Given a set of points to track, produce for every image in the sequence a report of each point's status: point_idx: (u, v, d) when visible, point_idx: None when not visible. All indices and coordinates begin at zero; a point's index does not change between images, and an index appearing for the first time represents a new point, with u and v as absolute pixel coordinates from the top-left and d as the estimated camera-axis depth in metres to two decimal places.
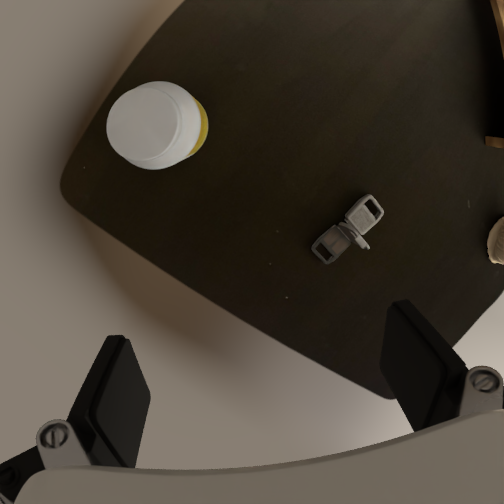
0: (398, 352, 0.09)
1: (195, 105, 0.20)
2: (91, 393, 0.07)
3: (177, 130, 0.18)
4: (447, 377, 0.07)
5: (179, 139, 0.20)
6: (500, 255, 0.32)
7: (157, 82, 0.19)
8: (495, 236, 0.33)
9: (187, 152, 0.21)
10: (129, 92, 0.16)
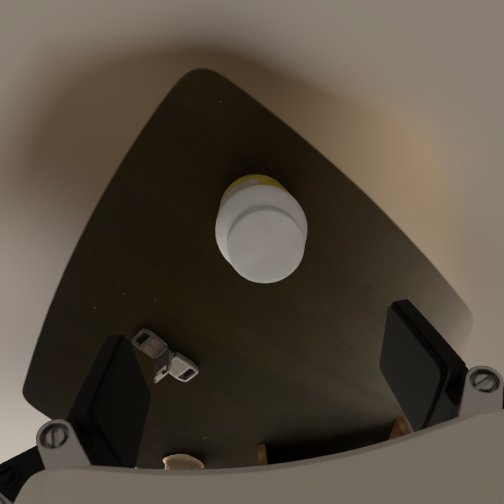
0: (398, 352, 0.09)
1: None
2: (91, 393, 0.07)
3: (255, 281, 0.20)
4: (447, 377, 0.07)
5: None
6: (171, 468, 0.40)
7: (305, 237, 0.22)
8: (185, 459, 0.42)
9: (231, 264, 0.23)
10: (301, 236, 0.19)
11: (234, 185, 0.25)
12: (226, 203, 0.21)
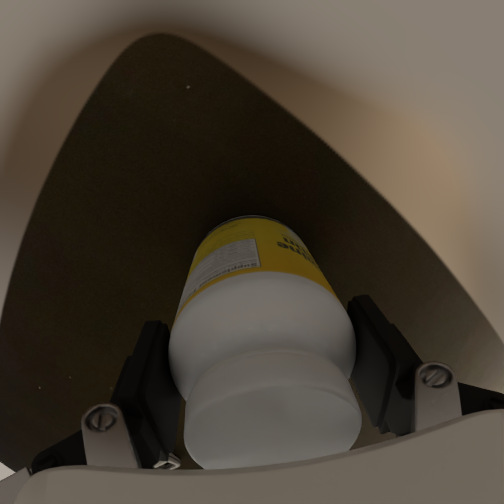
0: (357, 346, 0.10)
1: None
2: (138, 375, 0.08)
3: None
4: (396, 371, 0.07)
5: None
6: None
7: (351, 370, 0.10)
8: None
9: None
10: (357, 419, 0.07)
11: (210, 247, 0.13)
12: (184, 316, 0.09)
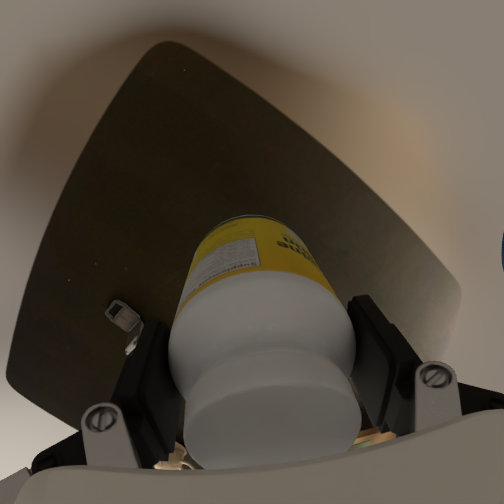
0: (357, 346, 0.10)
1: None
2: (138, 375, 0.08)
3: None
4: (396, 370, 0.07)
5: None
6: None
7: (351, 369, 0.10)
8: None
9: None
10: (357, 419, 0.07)
11: (210, 247, 0.13)
12: (184, 315, 0.09)
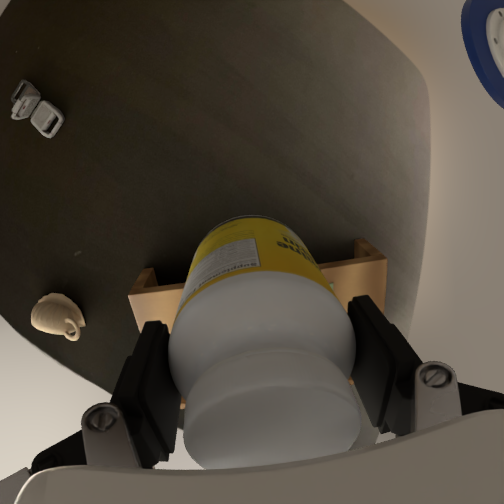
0: (357, 346, 0.10)
1: None
2: (138, 375, 0.08)
3: None
4: (396, 371, 0.07)
5: None
6: (37, 306, 0.30)
7: (351, 370, 0.10)
8: (58, 301, 0.33)
9: None
10: (357, 419, 0.07)
11: (210, 247, 0.13)
12: (184, 315, 0.09)
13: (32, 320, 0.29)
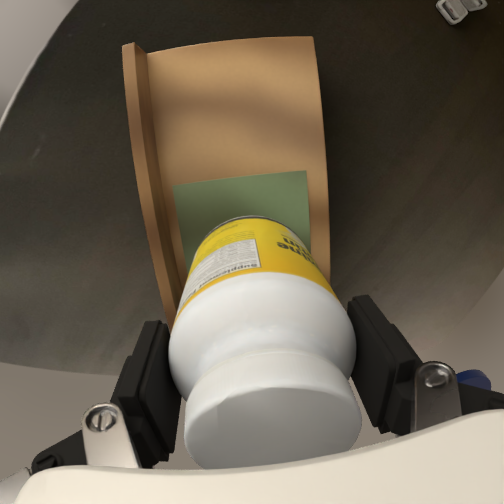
0: (357, 346, 0.10)
1: None
2: (138, 375, 0.08)
3: None
4: (396, 371, 0.07)
5: None
6: None
7: (352, 370, 0.10)
8: None
9: None
10: (357, 420, 0.07)
11: (210, 248, 0.13)
12: (185, 316, 0.09)
13: None
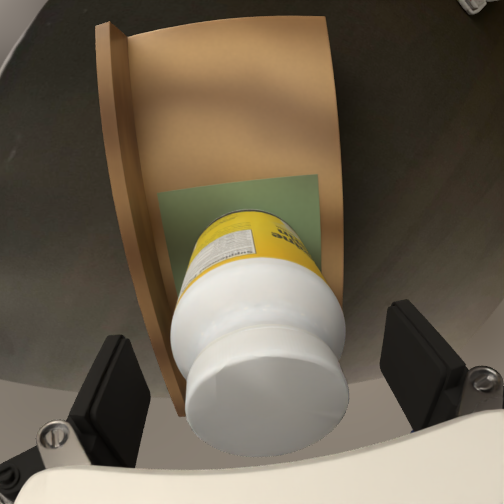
0: (398, 352, 0.09)
1: None
2: (91, 393, 0.07)
3: None
4: (447, 377, 0.07)
5: None
6: None
7: (341, 351, 0.11)
8: None
9: None
10: (344, 392, 0.08)
11: (209, 238, 0.14)
12: (186, 298, 0.10)
13: None
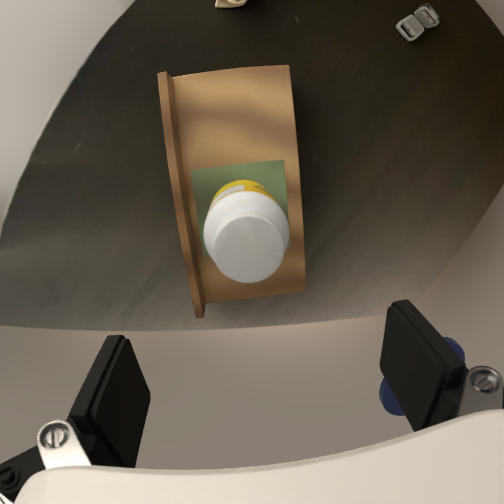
0: (398, 352, 0.09)
1: None
2: (91, 393, 0.07)
3: (239, 281, 0.21)
4: (447, 377, 0.07)
5: None
6: None
7: (288, 239, 0.24)
8: None
9: None
10: (281, 239, 0.20)
11: (222, 191, 0.27)
12: (213, 209, 0.23)
13: None
